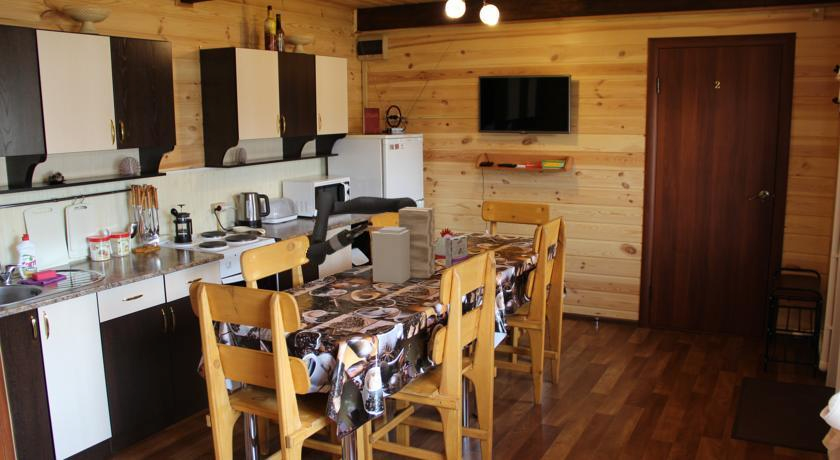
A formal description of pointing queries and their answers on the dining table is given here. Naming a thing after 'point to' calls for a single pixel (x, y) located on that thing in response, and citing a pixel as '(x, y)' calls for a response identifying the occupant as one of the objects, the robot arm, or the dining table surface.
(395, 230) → the turner
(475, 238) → the dining table surface
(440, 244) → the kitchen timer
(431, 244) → the tall stand
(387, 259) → the grey upright block
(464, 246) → the candy bar box
